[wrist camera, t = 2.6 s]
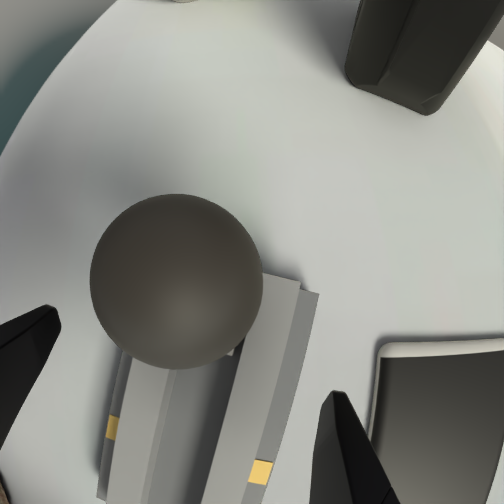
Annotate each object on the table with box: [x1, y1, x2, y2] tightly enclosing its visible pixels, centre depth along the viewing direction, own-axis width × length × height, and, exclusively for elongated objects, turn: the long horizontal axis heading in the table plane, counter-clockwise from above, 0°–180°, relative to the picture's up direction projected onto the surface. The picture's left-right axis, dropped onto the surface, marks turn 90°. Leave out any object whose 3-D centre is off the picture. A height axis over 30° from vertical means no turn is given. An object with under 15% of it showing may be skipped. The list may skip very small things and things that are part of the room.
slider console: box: [97, 273, 319, 504], centre depth 16 cm, size 17×10×4 cm, turn 166°
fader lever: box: [90, 194, 263, 370], centre depth 11 cm, size 4×4×13 cm
